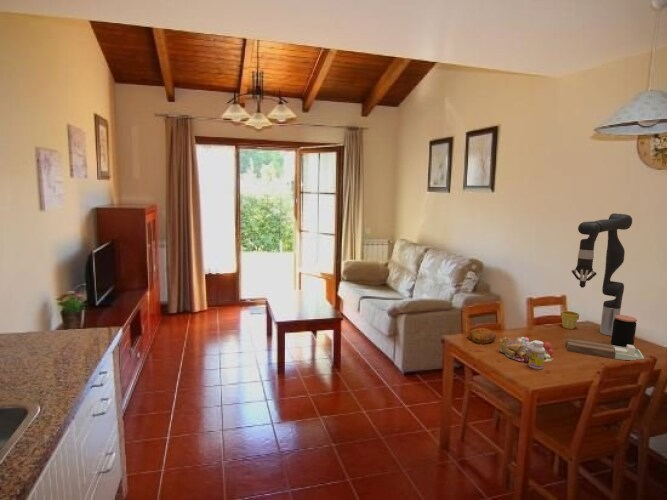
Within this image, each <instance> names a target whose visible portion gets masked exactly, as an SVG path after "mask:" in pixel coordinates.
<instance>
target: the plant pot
mask: <svg viewBox="0 0 667 500" xmlns="http://www.w3.org/2000/svg"><path fill="white" fill-rule="evenodd" d="M560 317H561V324H562V327H563V328H565V329H568V330H574V329H575V327H576V324H577V322H578V321H579V319H580V313H578V312H575V311H570V310H561V312H560Z"/></svg>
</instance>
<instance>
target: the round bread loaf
mask: <svg viewBox="0 0 667 500" xmlns="http://www.w3.org/2000/svg"><path fill="white" fill-rule="evenodd" d="M496 337H497V335H496V333H495V332H494V331H493V330H492V329H489V328H486V327H477V328H474V329H471V330H469V332H468V339H469V340H470V341H472V342H474V343H476V344H480V345H484V344H488V343H491V342H494V341H495V339H496Z"/></svg>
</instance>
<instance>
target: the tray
mask: <svg viewBox="0 0 667 500" xmlns="http://www.w3.org/2000/svg"><path fill="white" fill-rule="evenodd" d="M612 346H613V348H614V347H618V348H625V349H626V347H620V346H614V345H612ZM636 359H644V360H645V357H644V355H643V354H642V352H641V351H640V349H638V348H635V355H634V356H631V355H625V354H618V353H616V354H615V360H621V361H625V360H636Z"/></svg>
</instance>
